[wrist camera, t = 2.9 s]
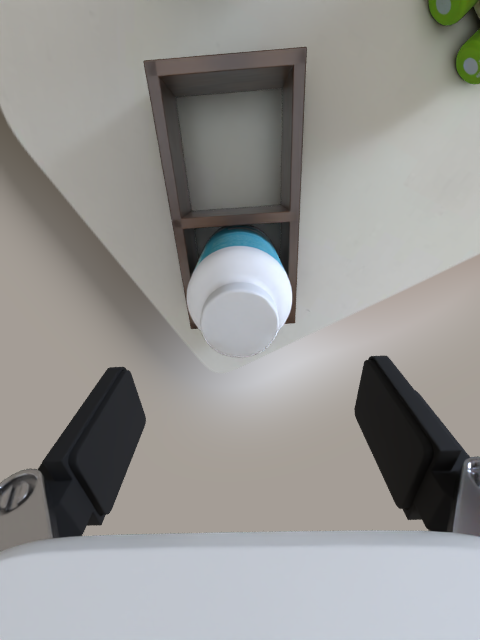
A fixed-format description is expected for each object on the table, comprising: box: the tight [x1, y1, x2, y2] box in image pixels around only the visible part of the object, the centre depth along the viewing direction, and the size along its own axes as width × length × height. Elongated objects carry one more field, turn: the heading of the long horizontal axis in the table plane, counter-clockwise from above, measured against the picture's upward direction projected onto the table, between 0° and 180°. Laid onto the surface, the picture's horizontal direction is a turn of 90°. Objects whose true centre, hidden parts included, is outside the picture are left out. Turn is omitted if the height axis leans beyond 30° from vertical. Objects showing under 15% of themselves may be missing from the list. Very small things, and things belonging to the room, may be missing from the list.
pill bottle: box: [187, 225, 292, 358], centre depth 21 cm, size 8×7×14 cm
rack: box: [144, 47, 307, 329], centre depth 23 cm, size 10×19×5 cm, turn 4°
